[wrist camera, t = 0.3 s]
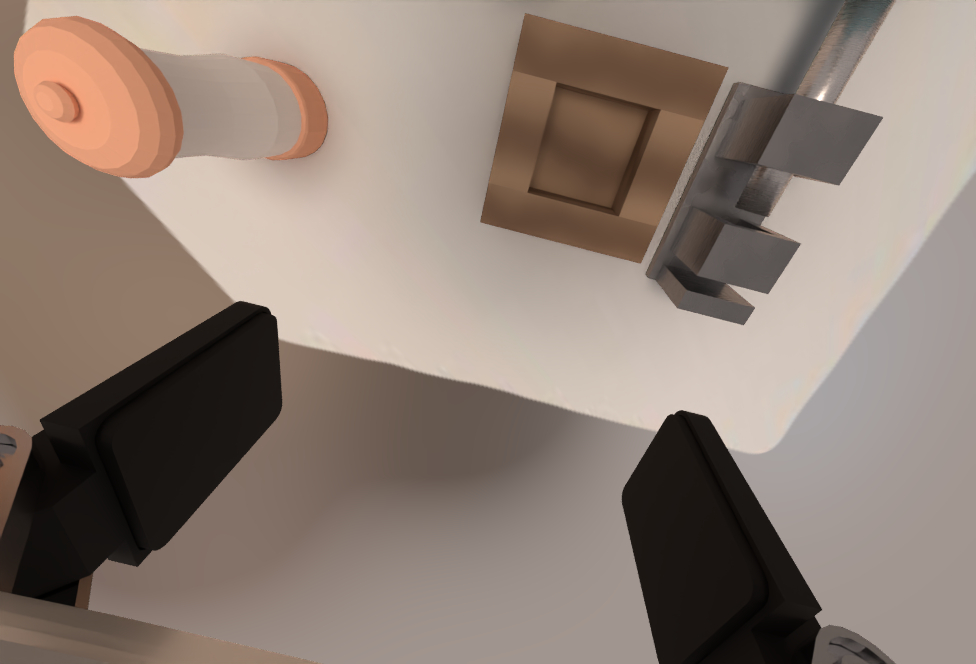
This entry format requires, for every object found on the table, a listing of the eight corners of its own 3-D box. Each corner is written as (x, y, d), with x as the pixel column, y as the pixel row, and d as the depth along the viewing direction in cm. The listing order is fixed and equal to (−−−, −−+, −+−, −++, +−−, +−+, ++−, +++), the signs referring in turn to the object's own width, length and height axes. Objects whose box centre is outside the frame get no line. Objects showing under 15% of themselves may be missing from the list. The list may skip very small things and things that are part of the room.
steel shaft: (850, -92, 23) (925, -144, 18) (930, -70, 23) (1023, -116, 18) (706, 197, 31) (734, 210, 27) (765, 213, 31) (803, 227, 27)
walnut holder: (526, 28, 29) (524, 13, 25) (702, 74, 29) (728, 67, 25) (486, 211, 36) (480, 222, 32) (629, 248, 36) (640, 263, 32)
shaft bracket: (733, 83, 29) (793, 71, 22) (820, 106, 29) (906, 101, 23) (645, 274, 37) (670, 308, 30) (714, 291, 37) (754, 329, 30)
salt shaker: (323, 67, 32) (88, 5, 15) (331, 162, 35) (149, 196, 19) (239, 57, 32) (-82, -14, 15) (256, 152, 36) (10, 178, 19)
